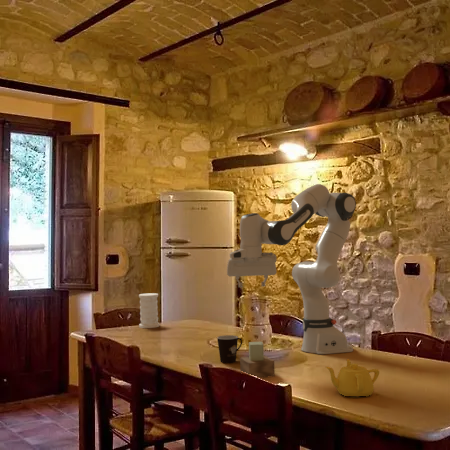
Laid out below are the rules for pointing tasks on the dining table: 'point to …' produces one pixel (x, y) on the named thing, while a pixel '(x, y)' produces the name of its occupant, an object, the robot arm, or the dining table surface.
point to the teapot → (354, 380)
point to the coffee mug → (228, 348)
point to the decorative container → (149, 310)
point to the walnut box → (258, 367)
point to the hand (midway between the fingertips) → (252, 286)
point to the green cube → (256, 351)
